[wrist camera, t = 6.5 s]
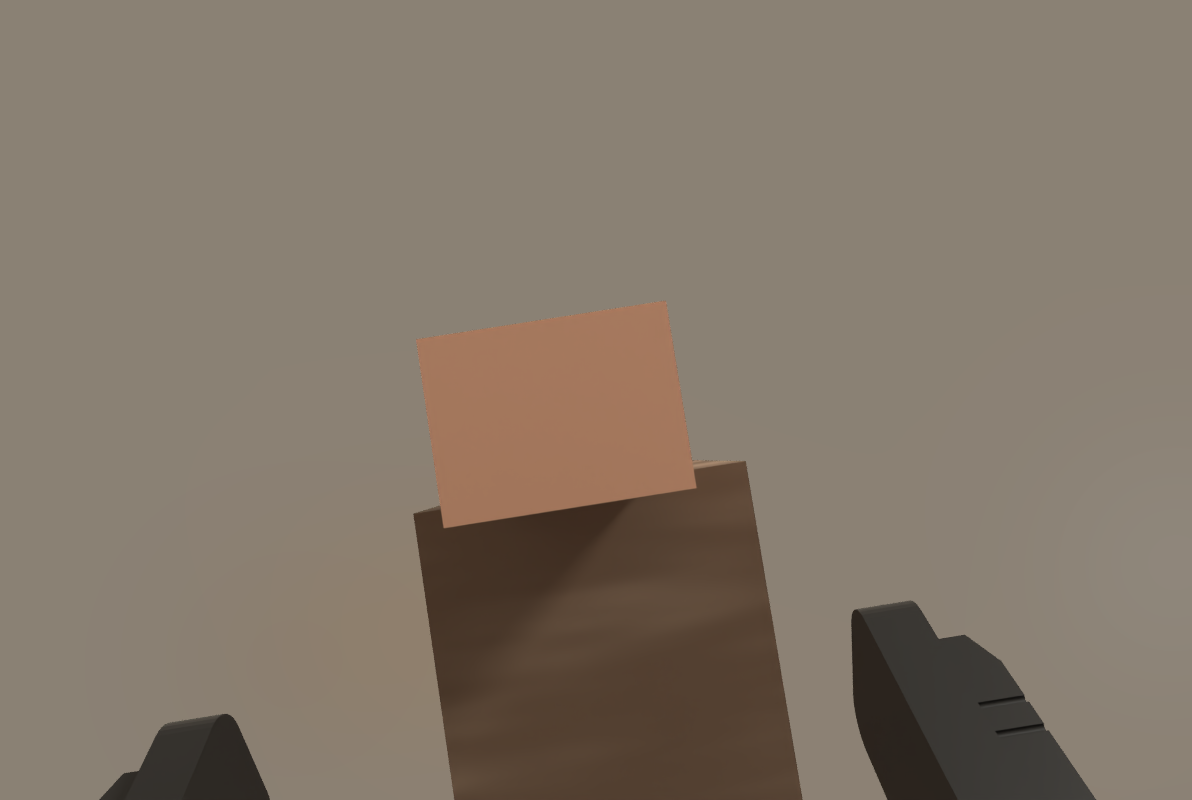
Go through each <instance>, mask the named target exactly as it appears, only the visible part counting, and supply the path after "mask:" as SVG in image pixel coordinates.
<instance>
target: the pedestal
mask: <svg viewBox="0 0 1192 800" xmlns="http://www.w3.org/2000/svg"><path fill="white" fill-rule="evenodd" d="M692 463H693V469H694V475H695V481H696V487H697V488H694V489H688V490H681V491H675V492H669V493H663V494H656V495H650V496H644V497H637V498H631V499H625V500H618V501H612V502H606V503H600V504H593V505H587V506H581V507H574V508H568V509H562V510H555V511H549V512H543V513H537V514H530V515H524V516H518V517H511V518H505V519H499V520H492V521H486V522H480V523H474V524H467V525H461V526H455V527H448V528H444V527H443V520H442V513H441V506H437V507H434V508H431V509H428V510H424V511H421V512H418V513H414V521H415V528H416V535H417V542H418V548H419V556H420V563H421V570H422V576H423V583H424V591H425V598H426V605H427V612H428V618H429V626H430V632H431V639H432V646H433V653H434V660H435V667H436V674H437V681H438V688H439V695H440V702H441V709H442V716H443V723H444V730H445V737H446V744H447V751H448V758H449V765H450V772H451V779H452V786H453V793H454V799H455V800H802V794H801V788H800V782H799V776H798V770H797V764H796V758H795V752H794V746H793V741H792V734H791V729H790V723H789V717H788V711H787V705H786V699H785V693H784V687H783V682H782V676H781V669H780V663H779V658H778V651H777V645H776V639H775V633H774V627H773V621H772V615H771V610H770V604H769V598H768V592H767V586H766V580H765V574H764V568H763V562H762V556H761V550H760V544H759V538H758V532H757V526H756V520H755V514H754V508H753V502H752V496H751V490H750V485H749V478H748V473H747V467H746V461H699V460H692Z"/></svg>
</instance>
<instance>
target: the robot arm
mask: <svg viewBox="0 0 1192 800" xmlns="http://www.w3.org/2000/svg"><path fill="white" fill-rule="evenodd" d="M851 623H852V624H851V627H852V663H853V696H854V707H855V713H856V718H857V723H858V727H859V730H860V734H861V737H862V740H863V743H864V746H865V748H866V751H867V753H868V756H869V758H870V760H871V763H872V765H873V767H874V769H875V772H876V774H877V776H878V779H879V781H880V783H881V786H882V788H883V790H884V792H885V795H886V797H887V800H1096V799H1095V798H1094V796H1093V795H1092V793H1091V792H1090V790H1089V789H1088V787H1087V786H1086V784H1085V783H1084V782H1083V780H1082V778H1081V777H1080V775H1079V774H1078V773H1077V771H1076V770H1075V768H1074V767H1073V765H1072V764H1071V763H1070V761H1069V760H1068V758H1067V757H1066V755H1065V754H1064V752H1063V751H1062V749H1061V748H1060V746H1059V745H1058V743H1057V742H1056V740H1055V739H1054V738H1053V736H1052V735H1051V733H1050V732H1049V731H1046V730H1045V728H1044V723H1043V722H1042V720H1041V719H1040V717H1039V716H1038V714H1037V713H1036V711H1035V710H1034V708H1033V707H1032V706H1031V704H1030V702H1026V700H1025V697H1024V694H1023V692H1022V691H1021V690H1020V688H1019V686H1018V685H1017V684H1016V682H1015V681H1014V679H1013V678H1012V676H1011V675H1010V673H1009V672H1008V671H1007V669H1006V668H1005V666H1004V665H1003V663H1002V662H1001V661H1000V660H999V659H997V658H996V657H995V656H993V655H992V654H991V653H989V652H988V651H986V650H985V649H984V648H982V647H981V646H980V645H978V644H977V643H975V642H974V641H973V640H971V639H970V638H968V637H967V636H966V635H961V636H955V637H949V638H942V639H938V638H937V636H936V634H935V632H934V631H933V629H932V627H931V626H930V624H929V623H928V621H927V619H926V618H925V616H924V615H923V613H922V611H921V610H920V608H919V607H918V606H917V604H916V603H914V602H913V601H905V602H899V603H893V604H887V605H880V606H874V607H868V608H862V609H856V610H854V611H853V613H852V620H851ZM100 800H270V798H269V795H268V793H267V790H266V788H265V786H264V783H263V781H262V779H261V777H260V774H259V772H258V770H257V768H256V765H255V763H254V761H253V759H252V756H251V754H250V752H249V749H248V747H247V745H246V743H245V740H244V738H243V736H242V733H241V731H240V729H239V727H238V725H237V723H236V721H235V720H234V718H233V717H232V716H230V715H228V714H222V715H215V716H209V717H203V718H196V719H190V720H184V721H178V722H172V723H168V724H165V725H164V726H163V727H162V728H161V729H160V730H159V732H158V734H157V735H156V737H155V739H154V741H153V743H152V745H151V747H150V749H149V751H148V754H147V755H146V757H145V759H144V762H143V764H142V766H141V768H140V770H139V771H137V772H130V773H124V774H123V775H122V776H121V777H120V778H119V779H118V780H117V781H116V782H115V783H114V785H113V786H112V787H111V788H110V789H109V790H108V791H107V792H106V793H105V794H104V795H103V796H102V798H101V799H100Z"/></svg>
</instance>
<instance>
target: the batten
mask: <svg viewBox="0 0 1192 800" xmlns="http://www.w3.org/2000/svg"><path fill="white" fill-rule="evenodd" d="M416 341H417V348H418V355H419V362H420V369H421V376H422V383H423V390H424V397H425V403H426V410H427V416H428V424H429V431H430V437H431V444H432V451H433V458H434V465H435V472H436V479H437V486H438V493H439V500H440V506H441V513H442V520H443V527H444V528H448V527H455V526H461V525H467V524H474V523H480V522H486V521H492V520H499V519H505V518H511V517H518V516H524V515H530V514H537V513H543V512H549V511H555V510H562V509H568V508H574V507H581V506H587V505H593V504H600V503H606V502H612V501H618V500H625V499H631V498H637V497H644V496H650V495H656V494H663V493H669V492H675V491H681V490H688V489H694V488H697V487H696V481H695V475H694V469H693V463H692V457H691V451H690V444H689V439H688V432H687V426H686V420H685V414H684V408H683V402H682V396H681V390H680V384H679V378H678V372H677V365H676V359H675V353H674V347H673V341H672V335H671V329H670V323H669V317H668V311H667V304H666V301H660V302H654V303H647V304H641V305H635V306H629V307H622V308H615V309H609V310H602V311H596V312H589V313H583V314H576V315H570V316H564V317H558V318H551V319H544V320H539V321H531V322H525V323H519V324H512V325H506V326H499V327H493V328H487V329H480V330H473V331H467V332H461V333H454V334H449V335H441V336H435V337H429V338H422V339H416Z"/></svg>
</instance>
